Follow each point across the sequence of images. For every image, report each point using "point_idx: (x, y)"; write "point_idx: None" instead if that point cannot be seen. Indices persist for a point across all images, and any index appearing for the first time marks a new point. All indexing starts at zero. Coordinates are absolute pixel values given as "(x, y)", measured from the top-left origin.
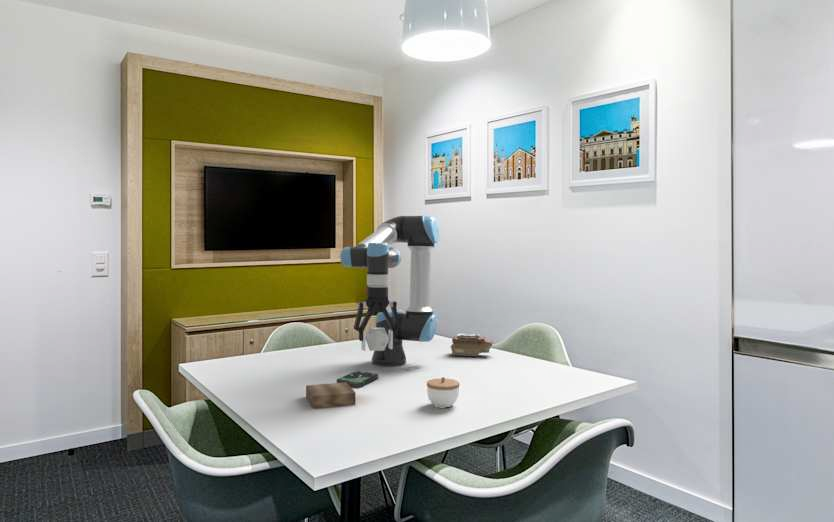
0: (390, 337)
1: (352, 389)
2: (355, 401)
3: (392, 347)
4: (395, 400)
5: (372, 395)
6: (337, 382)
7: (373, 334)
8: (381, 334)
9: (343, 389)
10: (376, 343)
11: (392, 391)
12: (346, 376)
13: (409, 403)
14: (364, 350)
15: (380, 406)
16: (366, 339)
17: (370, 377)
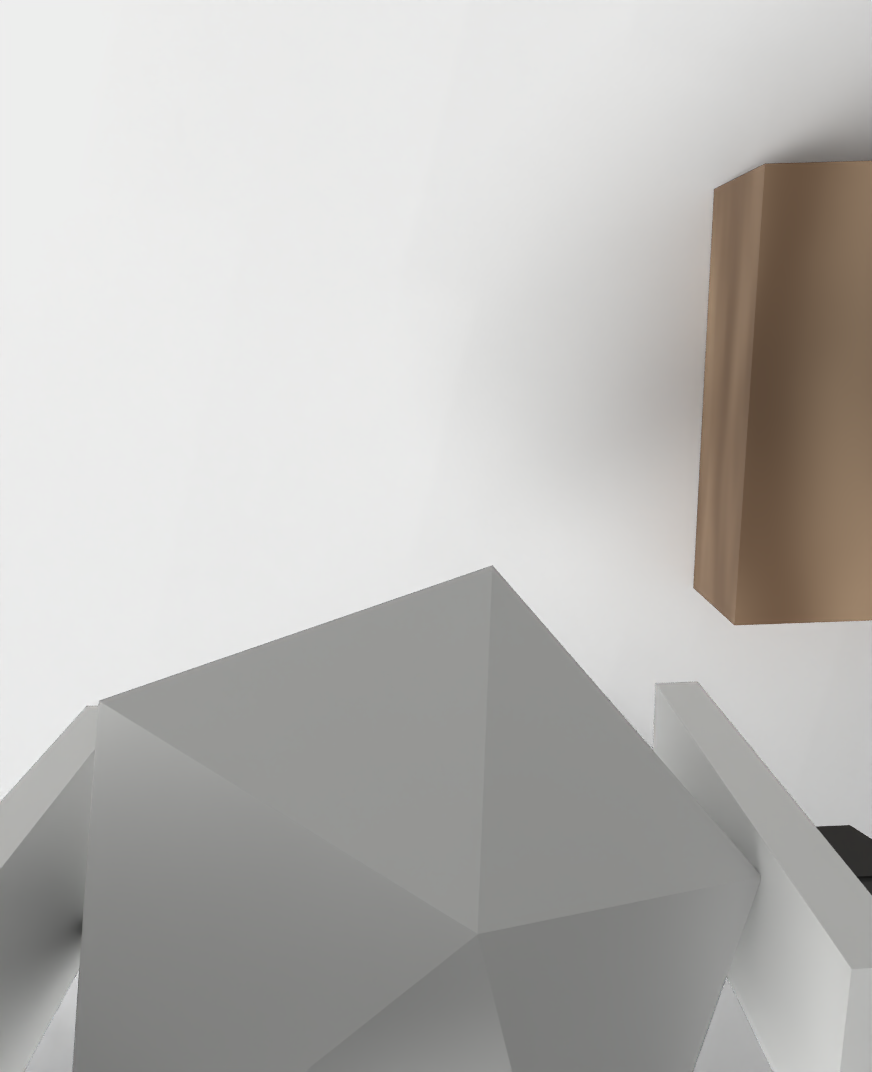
0: (15, 873)
1: (758, 306)
2: (725, 184)
3: (77, 719)
4: (296, 215)
5: (473, 455)
6: None
7: (575, 832)
8: (306, 774)
9: (851, 335)
10: (490, 578)
11: (252, 537)
12: None
13: (180, 59)
14: (677, 686)
15: (496, 44)
16: (712, 829)
17: None
